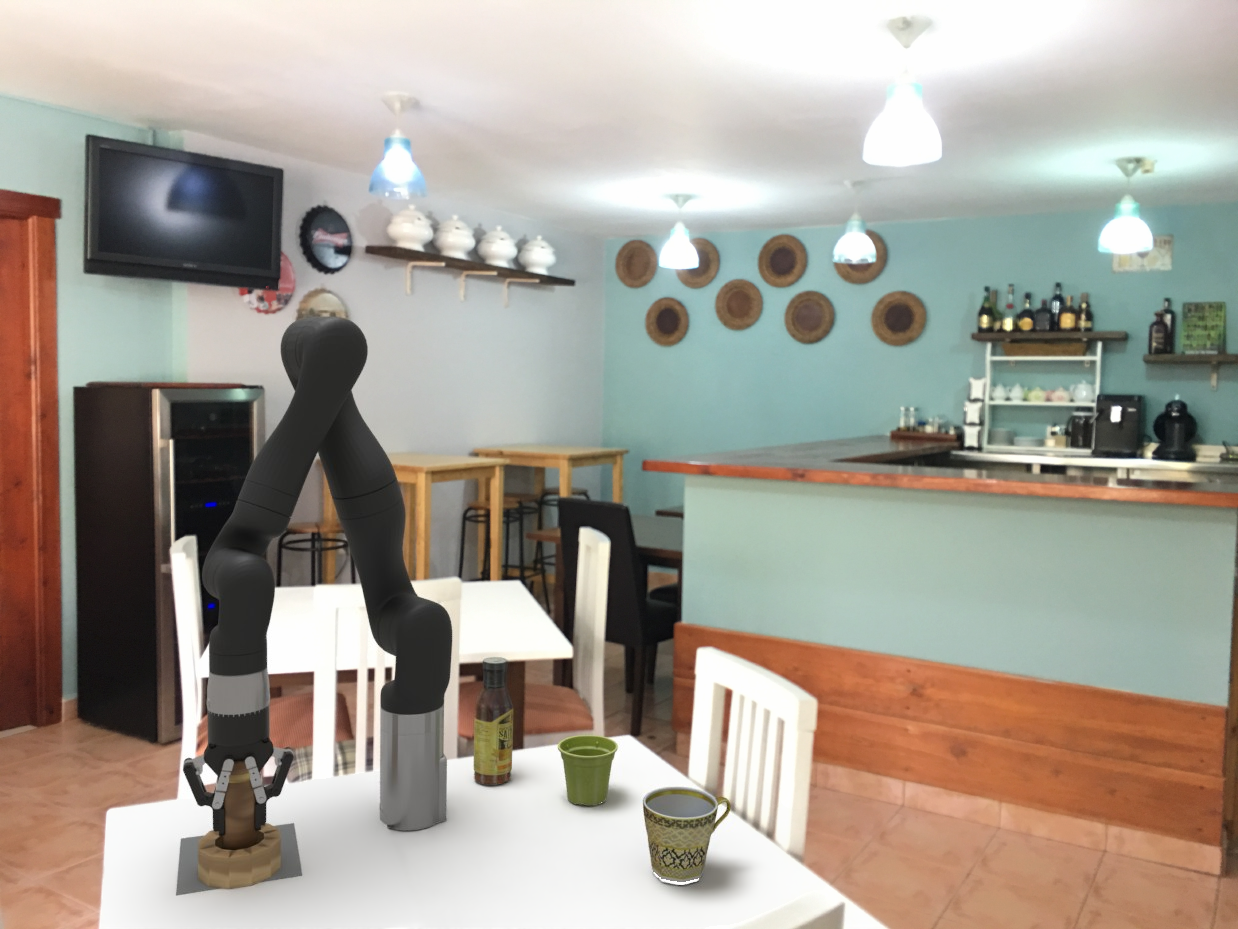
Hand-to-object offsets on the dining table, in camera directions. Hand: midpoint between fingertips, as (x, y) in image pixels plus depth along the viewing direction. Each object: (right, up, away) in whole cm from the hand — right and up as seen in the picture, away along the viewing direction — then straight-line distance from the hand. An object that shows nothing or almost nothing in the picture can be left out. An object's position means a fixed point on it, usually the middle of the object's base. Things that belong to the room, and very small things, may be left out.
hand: (239, 830), depth 129 cm
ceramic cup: (+59, -7, +4) cm, 59 cm away
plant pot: (+45, -5, +26) cm, 52 cm away
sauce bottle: (+29, -4, +33) cm, 44 cm away
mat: (-1, -5, +4) cm, 7 cm away
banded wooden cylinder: (0, -4, 0) cm, 4 cm away
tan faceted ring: (0, -5, 0) cm, 5 cm away
